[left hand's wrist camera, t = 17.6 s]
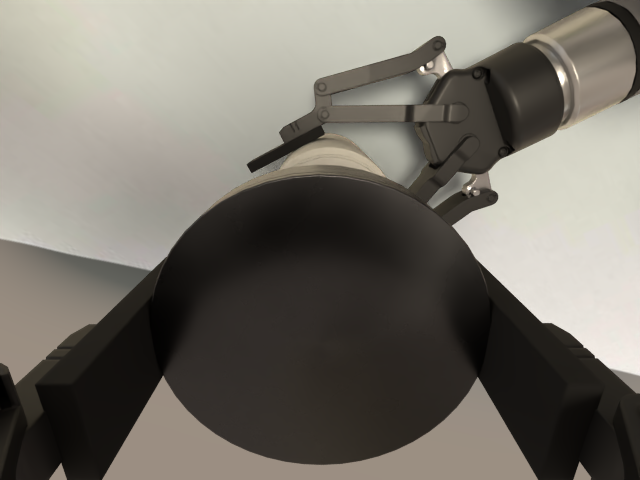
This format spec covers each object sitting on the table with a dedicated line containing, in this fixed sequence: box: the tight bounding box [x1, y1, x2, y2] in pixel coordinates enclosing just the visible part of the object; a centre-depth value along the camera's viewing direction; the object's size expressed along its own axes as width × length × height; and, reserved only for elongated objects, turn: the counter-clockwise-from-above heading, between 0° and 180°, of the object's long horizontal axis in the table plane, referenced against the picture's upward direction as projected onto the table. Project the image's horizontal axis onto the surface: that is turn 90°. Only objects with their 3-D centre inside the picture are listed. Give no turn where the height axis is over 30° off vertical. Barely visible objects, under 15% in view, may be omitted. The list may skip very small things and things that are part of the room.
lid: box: [150, 165, 491, 465], centre depth 11 cm, size 10×10×2 cm
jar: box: [279, 133, 386, 178], centre depth 30 cm, size 9×9×15 cm
